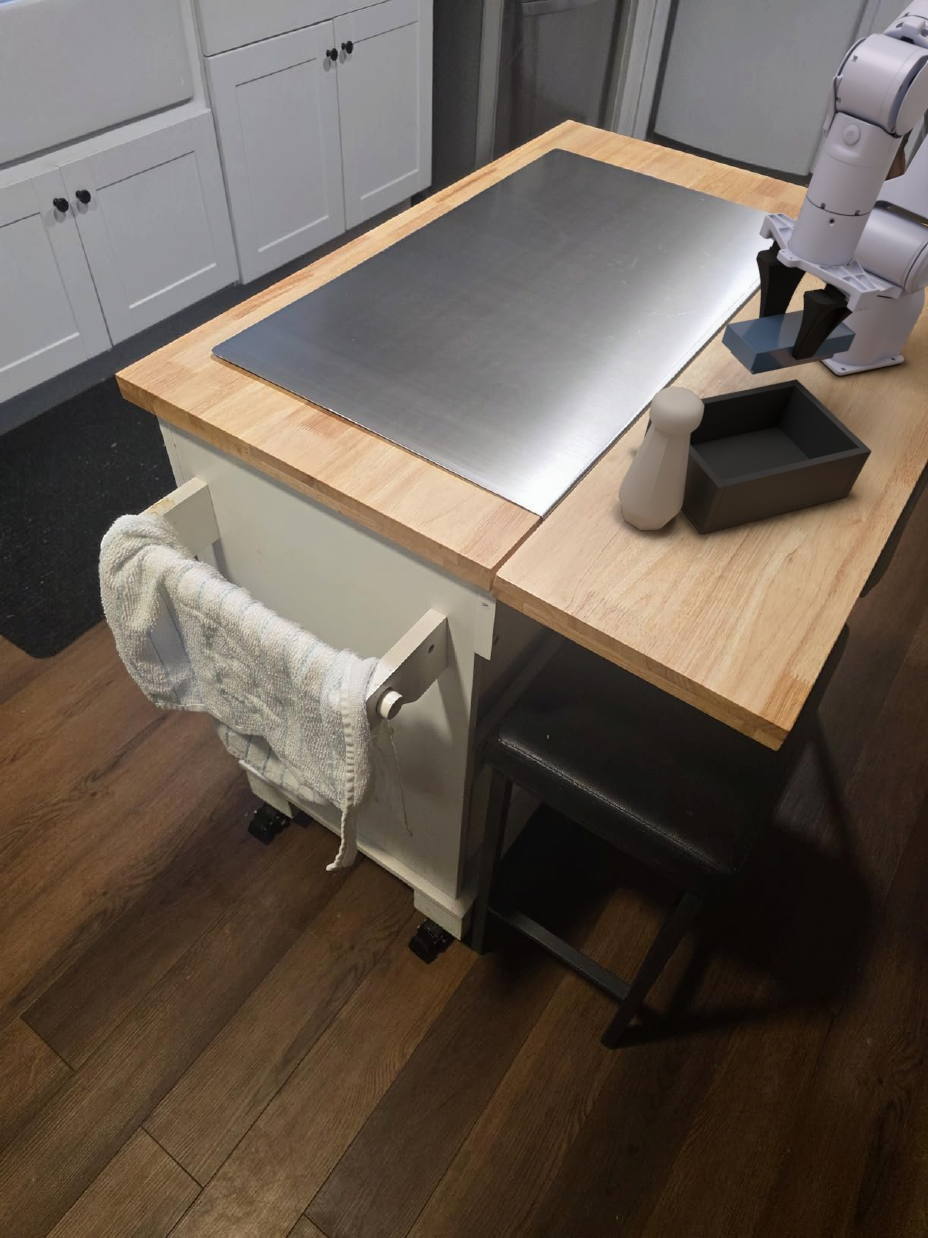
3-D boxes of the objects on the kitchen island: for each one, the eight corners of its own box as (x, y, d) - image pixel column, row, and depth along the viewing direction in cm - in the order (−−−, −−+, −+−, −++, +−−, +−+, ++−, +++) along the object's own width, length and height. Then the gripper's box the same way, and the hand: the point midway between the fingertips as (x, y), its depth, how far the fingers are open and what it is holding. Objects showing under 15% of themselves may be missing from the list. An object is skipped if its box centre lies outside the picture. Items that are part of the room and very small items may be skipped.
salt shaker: (685, 510, 81) (727, 392, 71) (662, 546, 78) (702, 428, 68) (628, 486, 83) (661, 367, 73) (603, 520, 79) (633, 401, 69)
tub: (777, 424, 91) (796, 378, 86) (847, 496, 84) (872, 450, 80) (638, 455, 86) (651, 408, 82) (700, 534, 79) (718, 487, 75)
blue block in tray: (718, 350, 87) (726, 323, 85) (813, 332, 90) (824, 305, 88) (747, 380, 84) (756, 353, 82) (844, 359, 87) (856, 333, 85)
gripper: (753, 169, 78) (710, 307, 89) (855, 246, 70) (794, 389, 80) (817, 161, 80) (768, 297, 91) (923, 236, 72) (856, 376, 82)
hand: (784, 340), depth 86 cm, fingers closed on blue block in tray, 5 cm apart
